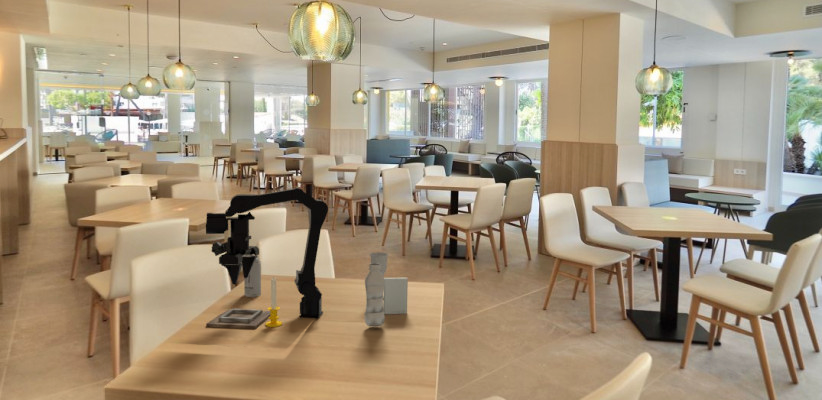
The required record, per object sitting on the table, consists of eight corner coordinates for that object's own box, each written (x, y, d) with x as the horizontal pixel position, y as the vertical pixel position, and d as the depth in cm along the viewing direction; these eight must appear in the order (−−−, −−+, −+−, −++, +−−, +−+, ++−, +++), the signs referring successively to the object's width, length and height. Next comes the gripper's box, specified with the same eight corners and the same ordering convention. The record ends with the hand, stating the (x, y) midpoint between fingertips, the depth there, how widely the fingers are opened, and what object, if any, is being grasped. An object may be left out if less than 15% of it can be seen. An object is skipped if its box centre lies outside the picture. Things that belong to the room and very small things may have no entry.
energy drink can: (241, 297, 205) (240, 258, 204) (254, 294, 210) (253, 256, 209) (251, 300, 202) (251, 260, 201) (264, 297, 207) (264, 258, 205)
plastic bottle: (388, 324, 176) (388, 263, 174) (378, 330, 169) (378, 267, 168) (370, 321, 178) (371, 261, 177) (360, 327, 172) (360, 265, 171)
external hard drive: (407, 313, 188) (407, 278, 187) (383, 314, 187) (384, 278, 186) (406, 312, 189) (407, 277, 188) (383, 313, 188) (383, 277, 187)
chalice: (391, 301, 204) (392, 253, 202) (381, 305, 198) (381, 256, 196) (375, 298, 207) (376, 251, 206) (365, 302, 202) (365, 254, 200)
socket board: (273, 314, 185) (273, 307, 185) (255, 328, 169) (255, 322, 169) (227, 312, 186) (227, 306, 186) (206, 326, 170) (206, 319, 170)
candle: (281, 326, 171) (281, 278, 170) (264, 327, 170) (264, 278, 169) (282, 322, 176) (282, 274, 175) (266, 322, 176) (266, 275, 174)
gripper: (228, 229, 185) (228, 274, 186) (202, 236, 167) (202, 286, 168) (259, 229, 184) (259, 275, 185) (237, 237, 166) (237, 288, 167)
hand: (240, 281), depth 176 cm, fingers open, 9 cm apart
